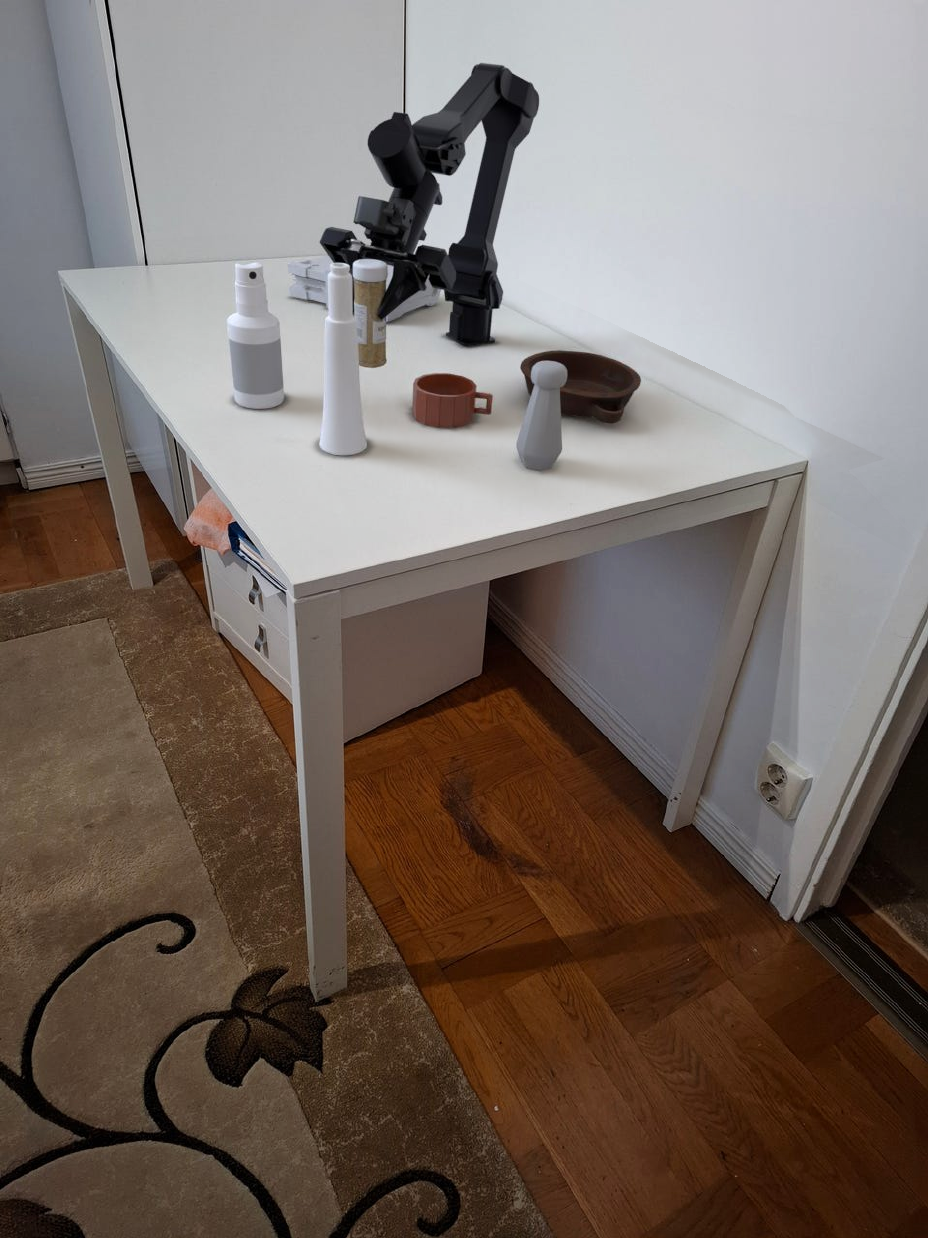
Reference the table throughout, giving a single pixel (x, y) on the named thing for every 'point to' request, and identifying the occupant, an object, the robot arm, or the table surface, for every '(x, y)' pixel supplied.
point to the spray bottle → (254, 343)
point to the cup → (447, 400)
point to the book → (315, 285)
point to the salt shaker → (543, 418)
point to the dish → (589, 383)
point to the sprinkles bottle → (370, 311)
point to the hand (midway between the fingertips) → (364, 314)
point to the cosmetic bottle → (341, 370)
